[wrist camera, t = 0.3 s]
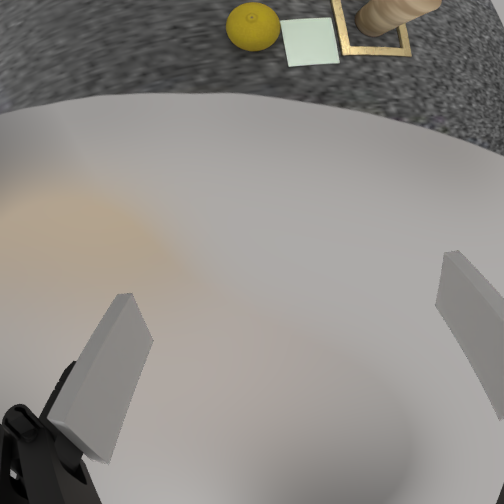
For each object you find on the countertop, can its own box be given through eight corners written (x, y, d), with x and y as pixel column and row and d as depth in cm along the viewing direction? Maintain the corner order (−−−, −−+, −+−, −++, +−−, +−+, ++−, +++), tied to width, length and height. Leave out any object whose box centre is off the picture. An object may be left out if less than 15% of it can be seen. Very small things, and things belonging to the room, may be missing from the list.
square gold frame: (327, -9, 25) (329, -11, 25) (395, -5, 24) (397, -7, 24) (341, 55, 29) (343, 54, 29) (408, 57, 28) (411, 56, 28)
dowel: (351, 8, 26) (394, -33, 14) (382, 9, 26) (435, -25, 13) (357, 36, 28) (406, 6, 15) (388, 37, 27) (446, 13, 15)
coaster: (279, 21, 28) (279, 20, 27) (330, 18, 27) (330, 17, 27) (288, 67, 30) (288, 66, 30) (338, 63, 30) (339, 63, 29)
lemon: (226, 52, 30) (216, 38, 23) (235, 11, 27) (227, -11, 20) (273, 60, 30) (276, 48, 23) (282, 19, 28) (287, -2, 20)
